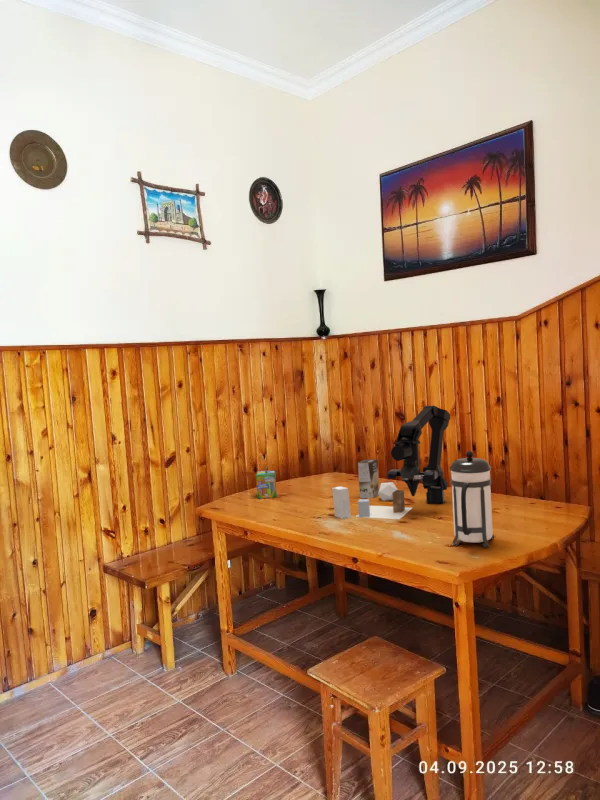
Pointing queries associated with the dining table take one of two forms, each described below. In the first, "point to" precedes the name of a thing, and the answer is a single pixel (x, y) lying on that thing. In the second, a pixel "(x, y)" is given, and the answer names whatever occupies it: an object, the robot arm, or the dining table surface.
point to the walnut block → (398, 501)
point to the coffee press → (471, 500)
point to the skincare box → (341, 502)
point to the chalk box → (266, 484)
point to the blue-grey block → (364, 508)
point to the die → (387, 491)
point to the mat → (386, 512)
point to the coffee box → (368, 478)
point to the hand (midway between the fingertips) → (413, 496)
